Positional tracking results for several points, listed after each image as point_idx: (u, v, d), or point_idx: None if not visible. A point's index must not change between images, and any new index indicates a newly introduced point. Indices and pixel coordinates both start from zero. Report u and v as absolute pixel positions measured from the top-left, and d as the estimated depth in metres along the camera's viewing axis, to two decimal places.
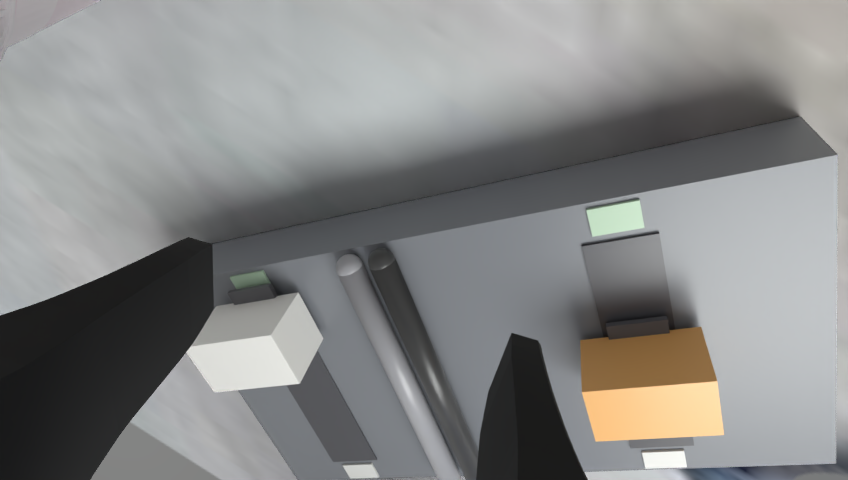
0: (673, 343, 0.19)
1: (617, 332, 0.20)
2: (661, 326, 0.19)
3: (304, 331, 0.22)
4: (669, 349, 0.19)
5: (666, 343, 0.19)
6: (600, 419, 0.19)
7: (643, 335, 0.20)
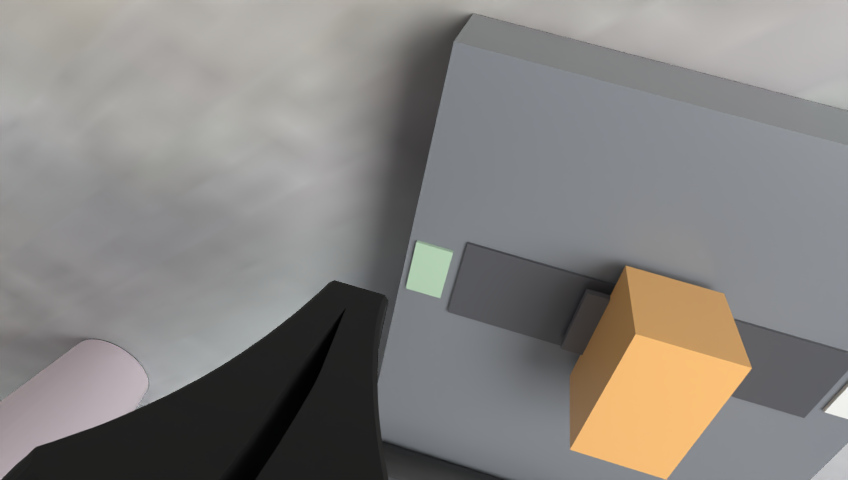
0: (612, 312, 0.14)
1: (575, 343, 0.15)
2: (594, 303, 0.14)
3: None
4: (610, 324, 0.14)
5: (608, 317, 0.14)
6: (629, 458, 0.14)
7: (597, 324, 0.15)
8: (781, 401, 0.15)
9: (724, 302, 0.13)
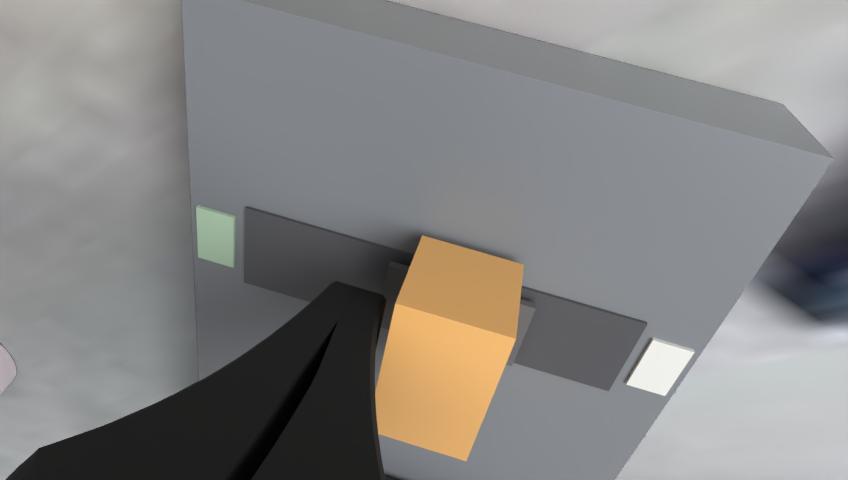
0: None
1: (388, 320, 0.14)
2: (397, 276, 0.14)
3: None
4: None
5: None
6: (425, 438, 0.13)
7: None
8: (582, 373, 0.14)
9: (522, 273, 0.13)
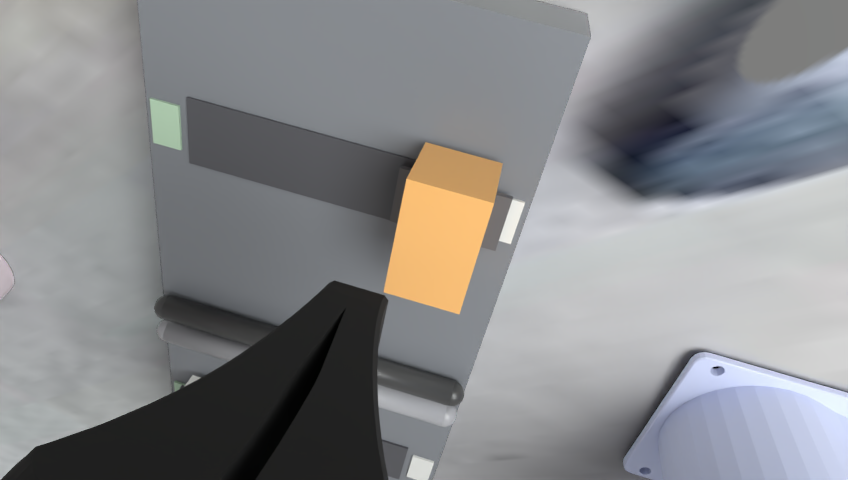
0: None
1: (399, 215, 0.18)
2: (406, 177, 0.18)
3: None
4: None
5: None
6: (428, 296, 0.17)
7: None
8: None
9: (501, 169, 0.17)
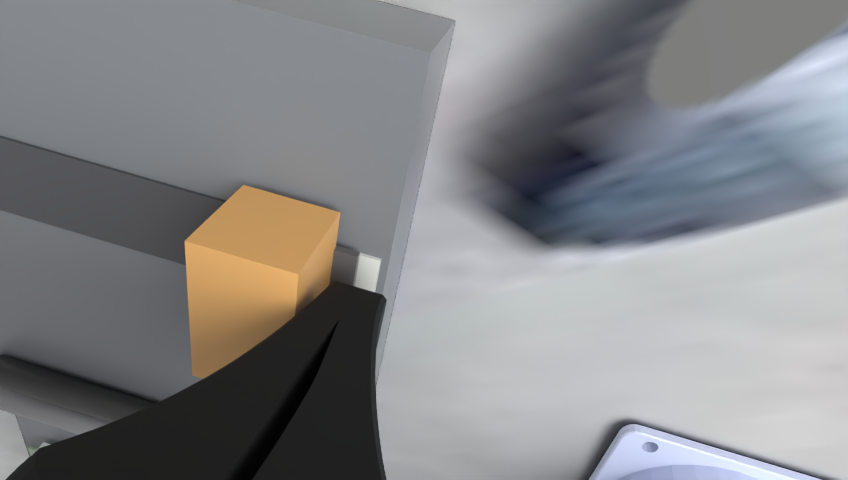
0: None
1: None
2: None
3: None
4: None
5: None
6: None
7: None
8: None
9: (336, 220, 0.13)
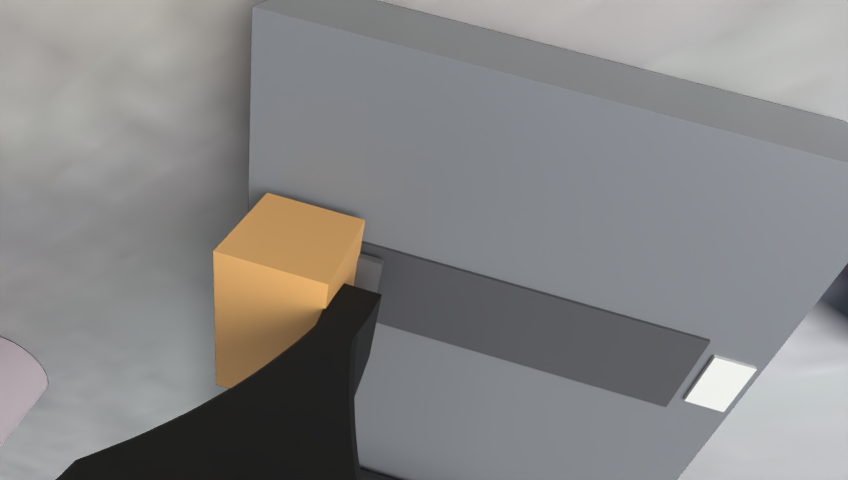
0: None
1: None
2: None
3: None
4: None
5: None
6: None
7: None
8: (640, 389, 0.14)
9: (361, 228, 0.13)
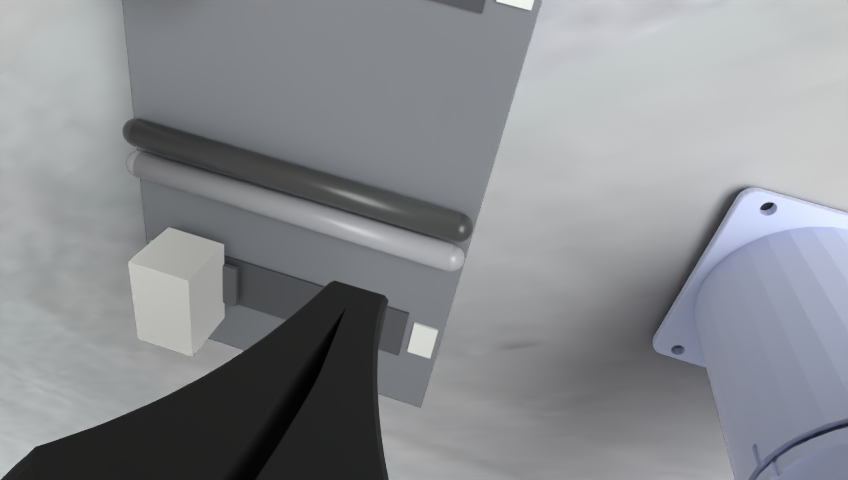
0: None
1: None
2: None
3: (187, 246, 0.22)
4: None
5: None
6: None
7: None
8: None
9: None
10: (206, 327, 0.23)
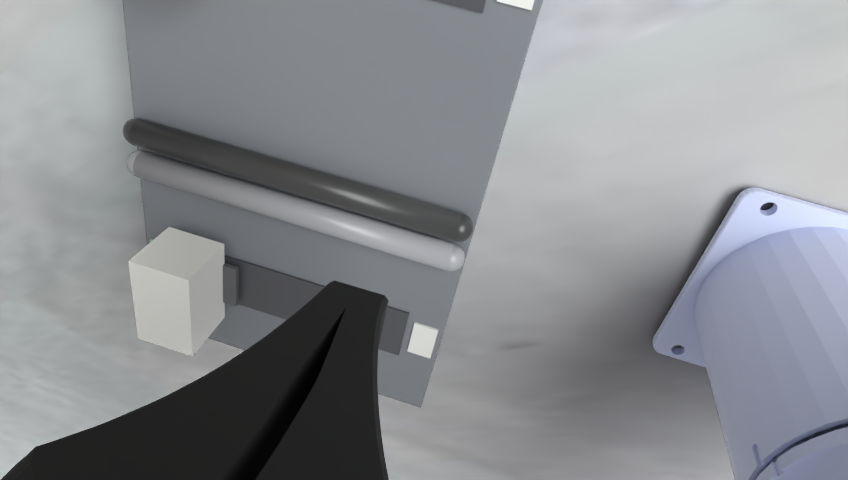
0: None
1: None
2: None
3: (187, 246, 0.22)
4: None
5: None
6: None
7: None
8: None
9: None
10: (206, 327, 0.23)
